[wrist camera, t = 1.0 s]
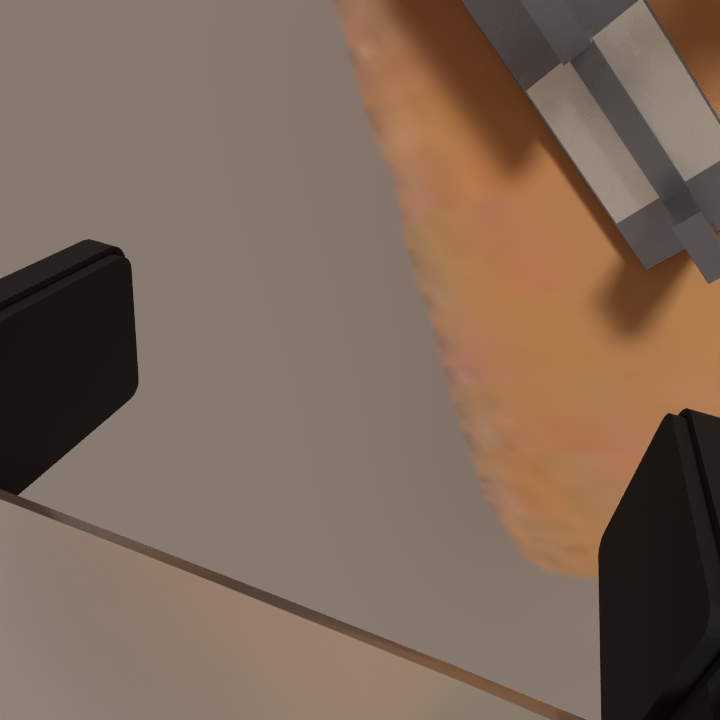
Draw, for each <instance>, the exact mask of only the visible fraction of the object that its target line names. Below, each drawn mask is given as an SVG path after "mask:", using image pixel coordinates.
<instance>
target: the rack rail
mask: <svg viewBox="0 0 720 720" xmlns="http://www.w3.org/2000/svg"><path fill="white" fill-rule="evenodd" d="M461 1H462V2H463V4H464V5H465V7H466V8H467V10H468V11H469V12H470V14H471V15H472V17H473V18H474V20H475V21H476V23H477V24H478V26H479V27H480V29H481V30H482V31H483V33H484V34H485V36H486V37H487V39H488V40H489V42H490V43H491V45H492V46H493V48H494V49H495V50H496V52H497V53H498V55H499V56H500V58H501V59H502V61H503V62H504V64H505V65H506V66H507V68H508V69H509V71H510V72H511V74H512V75H513V77H514V78H515V80H516V81H517V83H518V84H519V85H520V87H521V88H522V90H523V91H524V93H525V94H526V96H527V97H528V99H529V100H530V102H531V103H532V104H533V106H534V107H535V109H536V110H537V112H538V113H539V115H540V116H541V118H542V119H543V120H544V122H545V123H546V125H547V126H548V128H549V129H550V131H551V132H552V134H553V135H554V137H555V138H556V139H557V141H558V142H559V144H560V145H561V147H562V148H563V150H564V151H565V153H566V154H567V156H568V157H569V158H570V160H571V161H572V163H573V164H574V166H575V167H576V169H577V170H578V172H579V173H580V174H581V176H582V177H583V179H584V180H585V182H586V183H587V185H588V186H589V188H590V189H591V191H592V192H593V193H594V195H595V196H596V198H597V199H598V201H599V202H600V204H601V205H602V207H603V208H604V210H605V211H606V212H607V214H608V215H609V217H610V218H611V220H612V221H613V223H614V224H615V226H616V227H617V228H618V230H619V231H620V233H621V234H622V236H623V237H624V239H625V240H626V242H627V243H628V245H629V246H630V247H631V249H632V250H633V252H634V253H635V255H636V256H637V258H638V259H639V261H640V262H641V264H642V265H643V266H644V268H645V269H646V270H648V269H650V268H652V267H653V266H655V265H657V264H659V263H661V262H662V261H664V260H666V259H668V258H670V257H671V256H673V255H675V254H677V253H679V252H681V251H682V250H684V249H686V251H687V252H688V254H689V255H690V257H691V258H692V260H693V261H694V263H695V264H696V266H697V267H698V269H699V270H700V272H701V273H702V275H703V276H704V278H705V279H706V281H707V282H708V284H709V283H711V282H713V281H715V280H717V279H719V278H720V235H719V233H718V231H719V230H720V119H719V118H718V116H717V115H716V113H715V111H714V110H713V108H712V106H711V105H710V103H709V102H708V100H707V98H706V97H705V95H704V94H703V92H702V90H701V89H700V87H699V85H698V84H697V82H696V81H695V79H694V77H693V76H692V74H691V72H690V71H689V69H688V68H687V66H686V64H685V63H684V61H683V59H682V58H681V56H680V55H679V53H678V51H677V50H676V48H675V47H674V45H673V43H672V42H671V40H670V38H669V37H668V35H667V34H666V32H665V30H664V29H663V27H662V25H661V24H660V22H659V21H658V19H657V17H656V16H655V14H654V12H653V11H652V9H651V8H650V6H649V4H648V3H647V1H646V0H461Z"/></svg>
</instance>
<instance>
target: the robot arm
mask: <svg viewBox="0 0 720 720" xmlns="http://www.w3.org/2000/svg"><path fill="white" fill-rule="evenodd" d="M137 387H138V364H137V348H136V332H135V317H134V301H133V286H132V271H131V264H130V262H129V260H128V259H127V258H125V255H124V253H123V252H122V250H121V249H120V248H118V247H115V246H111V245H108V244H104V243H101V242H98V241H94V240H90V239H88V240H83V241H81V242H79V243H77V244H75V245H73V246H71V247H68V248H66V249H64V250H62V251H60V252H58V253H55V254H53V255H51V256H49V257H47V258H44V259H42V260H40V261H38V262H36V263H34V264H31V265H29V266H27V267H25V268H23V269H21V270H18V271H16V272H14V273H12V274H10V275H8V276H5V277H3V278H1V279H0V720H585V719H583V718H581V717H578V716H576V715H573V714H571V713H568V712H566V711H563V710H561V709H559V708H556V707H554V706H551V705H549V704H546V703H544V702H542V701H539V700H537V699H534V698H532V697H529V696H527V695H525V694H522V693H520V692H517V691H515V690H512V689H510V688H508V687H505V686H503V685H500V684H498V683H495V682H493V681H491V680H488V679H486V678H483V677H481V676H478V675H476V674H473V673H471V672H469V671H466V670H464V669H461V668H459V667H456V666H454V665H451V664H449V663H446V662H444V661H441V660H439V659H436V658H434V657H431V656H429V655H426V654H424V653H421V652H418V651H416V650H413V649H411V648H408V647H406V646H403V645H401V644H398V643H396V642H393V641H390V640H388V639H385V638H383V637H380V636H378V635H375V634H373V633H370V632H368V631H365V630H363V629H360V628H357V627H355V626H352V625H349V624H347V623H345V622H342V621H340V620H337V619H335V618H332V617H329V616H327V615H324V614H322V613H319V612H317V611H314V610H311V609H309V608H307V607H304V606H301V605H299V604H296V603H294V602H291V601H289V600H286V599H284V598H281V597H279V596H276V595H273V594H271V593H268V592H266V591H263V590H261V589H258V588H255V587H253V586H250V585H248V584H245V583H243V582H240V581H237V580H235V579H232V578H229V577H227V576H225V575H222V574H219V573H217V572H214V571H212V570H209V569H206V568H204V567H201V566H199V565H196V564H193V563H191V562H188V561H186V560H183V559H181V558H178V557H175V556H173V555H170V554H168V553H165V552H163V551H160V550H157V549H155V548H152V547H150V546H147V545H144V544H142V543H139V542H137V541H134V540H131V539H129V538H126V537H124V536H121V535H119V534H116V533H113V532H111V531H108V530H105V529H103V528H100V527H98V526H95V525H92V524H90V523H87V522H85V521H82V520H80V519H77V518H74V517H72V516H69V515H66V514H64V513H61V512H59V511H56V510H53V509H51V508H48V507H45V506H43V505H40V504H38V503H35V502H32V501H30V500H27V499H24V498H22V497H19V496H17V495H19V494H20V493H21V492H22V491H23V490H24V489H25V488H27V487H28V486H29V485H30V484H31V483H33V482H34V481H35V480H36V479H37V478H39V477H40V476H41V475H42V474H43V473H44V472H46V471H47V470H48V469H49V468H50V467H51V466H53V464H55V463H56V462H57V461H58V460H60V459H61V458H62V457H63V456H64V455H65V454H66V453H68V452H69V451H70V450H71V449H72V448H74V447H75V446H76V445H77V444H78V443H79V442H81V441H82V440H83V439H84V438H85V437H87V436H88V435H89V434H90V433H91V432H92V431H93V430H95V429H96V428H97V427H98V426H99V425H101V424H102V423H103V422H104V421H105V420H106V419H108V418H109V417H110V416H111V415H112V414H113V413H115V412H116V411H117V410H118V409H119V408H120V407H121V406H123V405H124V404H125V403H126V402H127V401H129V400H130V399H131V397H133V395H134V394H135V392H136V389H137ZM598 563H599V613H600V614H599V616H600V617H599V618H600V668H601V669H600V671H601V720H720V418H719V417H715V416H712V415H708V414H705V413H701V412H698V411H694V410H691V409H687V408H686V409H684V410H682V411H681V412H680V413H679V415H678V416H677V415H674V414H670V413H669V414H667V415H666V416H665V417H664V418H663V420H662V422H661V424H660V426H659V427H658V429H657V431H656V433H655V435H654V437H653V439H652V441H651V443H650V445H649V447H648V449H647V451H646V453H645V454H644V456H643V458H642V460H641V462H640V464H639V466H638V468H637V470H636V472H635V474H634V476H633V478H632V480H631V482H630V483H629V485H628V487H627V489H626V491H625V493H624V495H623V497H622V499H621V501H620V503H619V505H618V507H617V509H616V510H615V512H614V514H613V516H612V518H611V520H610V522H609V524H608V526H607V528H606V530H605V532H604V534H603V536H602V539H601V543H600V547H599V555H598Z"/></svg>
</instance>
